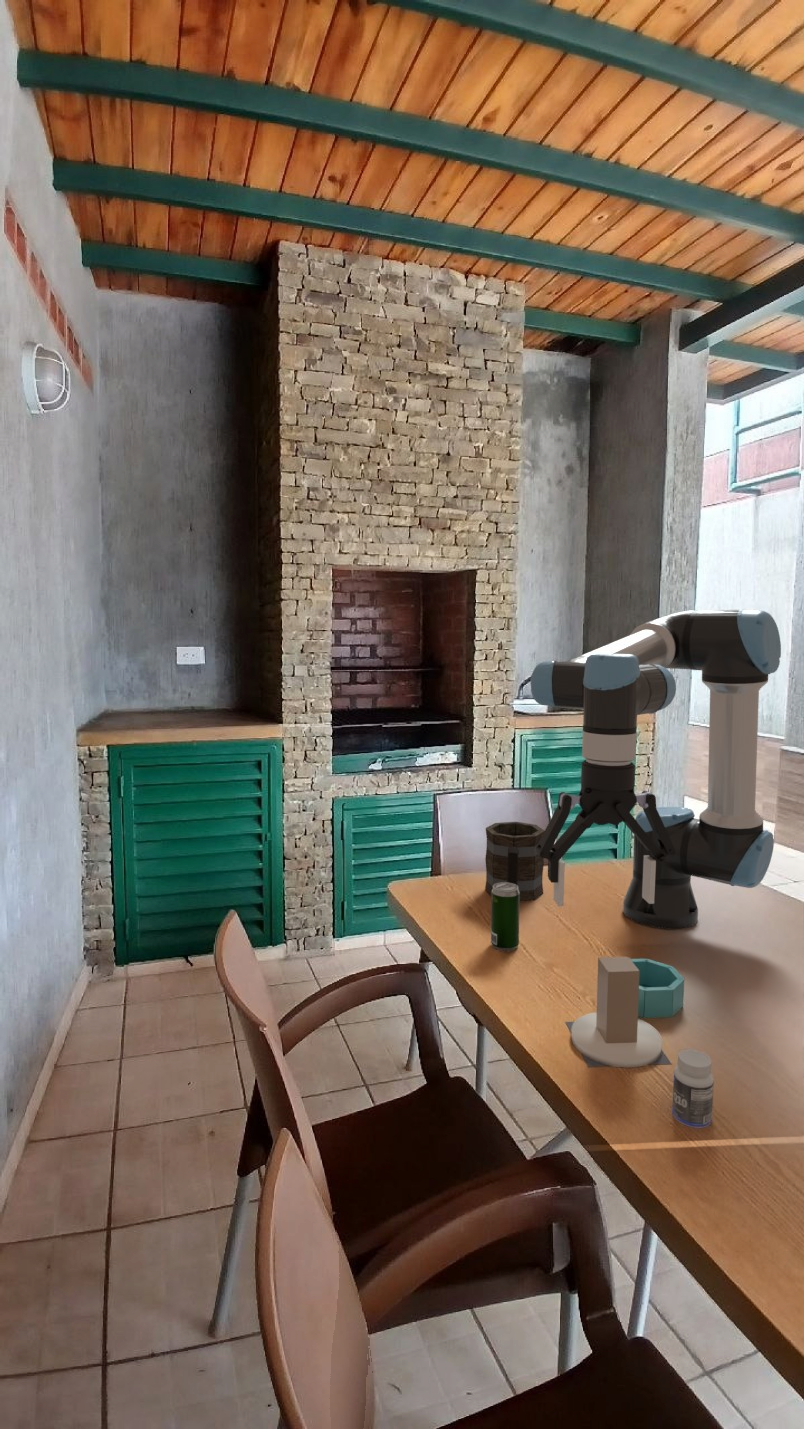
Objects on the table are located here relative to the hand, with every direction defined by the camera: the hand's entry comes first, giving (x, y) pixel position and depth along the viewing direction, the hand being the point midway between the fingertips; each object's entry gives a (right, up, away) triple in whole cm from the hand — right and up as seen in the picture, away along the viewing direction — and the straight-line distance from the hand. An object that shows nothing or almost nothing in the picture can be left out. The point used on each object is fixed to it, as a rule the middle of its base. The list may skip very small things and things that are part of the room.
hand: (603, 901), depth 112 cm
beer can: (-10, -17, +35) cm, 40 cm away
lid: (+2, -21, +1) cm, 21 cm away
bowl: (+10, -20, +13) cm, 26 cm away
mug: (-4, -14, +61) cm, 63 cm away
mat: (+2, -22, +1) cm, 22 cm away
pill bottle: (+7, -24, -16) cm, 30 cm away
